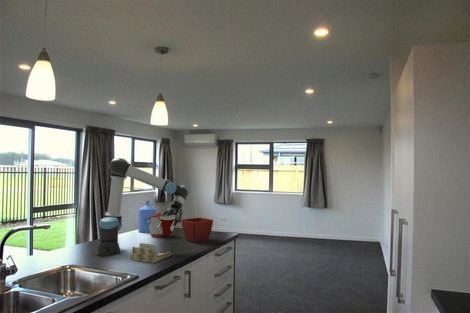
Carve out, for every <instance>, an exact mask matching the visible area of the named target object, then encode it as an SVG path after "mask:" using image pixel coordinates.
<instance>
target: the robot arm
mask: <svg viewBox="0 0 470 313" xmlns="http://www.w3.org/2000/svg"><path fill="white" fill-rule="evenodd" d="M108 165H109V168H108V169H109V170H110V174H109V177H110V178H111V181H110V182H111V183H110V189H109V190H110V191H109V197H108V198H109V200H108V205H107V212H106V213H105V214H104V217H103V218H101V219H100V221H99V242H98V246H97V249H96V255H97V256H101V257H110V256H116V255H119V254H121V248H120V244H119V231H120V230H121V228H122V225H123V224H122V221H123V220H122V218H123V215H122V213H121V209H122V203H123V202H122V201H123V193H124V187H125V186H124V185H125V180H127V178H131V179H134V180H136V181H138V182H140V183H143V184H146V185H148V186H150V187H153V188H156V189H158V190H160V191H163V192H165V193H167V194H168V195H169V194H170V195H174V196H175V197H174V199H173V200H172V203H171V204H170V207H169V208H167V207H166V208H165V209H164V211H163V212H162V213H161V216H160V217H162V216H173V215H174V217H175V220H174V221H173V223H172V225H171V227H170V229H171V231H172V232H173V231H174V228H175V227H176V226H177V224H179V223H181V220H182V216H183V213H184V210H183V209H182V207H183V205H184V204H185V202H186V199H187V198H188V195H189V193H190V188H189V187H188V186H187V185H185V184H181V185H178V184H177V183H174V182H173V181H172V180H169V179H164V178H162V177H159V176H157V175H155V174H152V173H150V172H148V171H146V170H145V171H144V170H142V169H140V168H138V167H135V166H133V165H132V163H130V162H128V160H127V159H125V158H123V157H115V158H113V159H112V160H111V161H110V163H109V164H108ZM160 217H159V220H160V222H159V225H158V227H157V228H158V229H159V230H160V229H161V227H162V225H161V219H160Z"/></svg>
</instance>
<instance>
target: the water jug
mask: <svg viewBox="0 0 470 313" xmlns="http://www.w3.org/2000/svg"><path fill="white" fill-rule="evenodd" d="M156 214H157V208H156V207H154V206H153V205H152V206H151V205H150V200H145V205H144V206H142V207H140V208H139V209H138V229H137V230H138V232H139V233H141V234H142V233H143V234H148V233H149V234H150V229H149V223H147V221H148V220H149V216H151V215H156Z"/></svg>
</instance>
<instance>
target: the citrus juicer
mask: <svg viewBox="0 0 470 313" xmlns="http://www.w3.org/2000/svg"><path fill="white" fill-rule="evenodd" d="M161 215H162V213H161V212H156V215H151V216H149V220H148V221H147V223H149V229H150V233H149V234H150V236H151V237H154V238H156V237H157V238H159V237H165V236H166V235H163V231H162V227H161V229H160V230H159V229H158V228H157V227H158V225H159V222H160V220H159V217H160V216H161Z"/></svg>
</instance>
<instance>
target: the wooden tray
mask: <svg viewBox="0 0 470 313" xmlns="http://www.w3.org/2000/svg"><path fill="white" fill-rule="evenodd" d="M131 252H132V253H131V254H130V260H131V261H139V262H145V263H152V264H153V263H157V262H159V261H161V260H164V259H167V258H169V257H171V256H172V251H171V250H170V251H169V250H168V251H167V252H165V253H163V252H158V256H156V257H153V249H147V248H139V247H136V246H132V247H131Z"/></svg>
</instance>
